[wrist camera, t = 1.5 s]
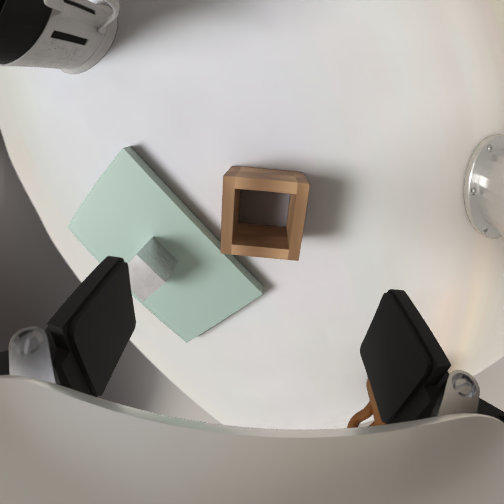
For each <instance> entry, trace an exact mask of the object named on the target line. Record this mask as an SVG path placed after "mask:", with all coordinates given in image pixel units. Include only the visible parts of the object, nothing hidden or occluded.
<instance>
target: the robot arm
mask: <svg viewBox="0 0 504 504" xmlns="http://www.w3.org/2000/svg"><path fill="white" fill-rule="evenodd" d="M464 200H465V208H466V211H467V215H468V218H469V220H470V222H471V224H472V225H473V227H474V228H475V229H476V230H477V231H478V232H479V233H481V234H482V235H484V236H485V237H488V238H499V237H502V236H503V237H504V136H503V135H492V136H489V137H487V138H486V139H484V140H483V141H482V142H481V143H480V144H479V145H478V146H477V148H476V149H475V151H474V153H473V155H472V156H471V159H470V162H469V164H468V168H467V172H466V176H465V184H464ZM47 325H48V328H47V329H46V330H45V331H44V330H43V329H42V328H40V327H36V326H30V327H26V328H22V329H20V330H19V331H18V332H16V333H15V334H14V335H13V336H12V338H11V340H10V343H9V350H7V351H4V352H0V504H504V412H503V411H501V410H500V409H498V408H496V407H494V406H493V405H491V404H489V403H487V402H486V401H484V400H482V399H480V398H479V395H480V389H479V386H478V383H477V381H476V380H475V378H474V377H473V376H472V375H470V374H469V373H467V372H465V371H462V370H455V371H453V372H451V373H450V374H449V373H448V371H447V370H448V369H449V368H450V366H451V364H450V362H449V360H448V358H447V357H446V355H445V353H444V352H443V350H442V348H441V346H440V345H439V343H438V342H437V340H436V338H435V337H434V335H433V333H432V332H431V330H430V329H429V327H428V325H427V324H426V322H425V321H424V319H423V318H422V316H421V315H420V313H419V312H418V310H417V309H416V307H415V306H414V304H413V303H412V301H411V300H410V298H409V297H408V295H407V294H406V292H405V291H403V290H393V289H390V290H389V291H388V292H387V293H384V294H383V296H382V299H381V301H380V304H379V306H378V309H377V311H376V313H375V316H374V318H373V320H372V323H371V325H370V327H369V329H368V331H367V334H366V336H365V338H364V340H363V342H362V344H361V348H360V354H361V357H362V360H363V363H364V366H365V369H366V372H367V375H368V378H369V381H370V385H371V388H372V391H373V394H374V397H375V401H376V404H377V407H378V411H379V414H380V418H381V421H382V422H383V423H385V425H378V426H369V427H358V428H344V429H320V430H286V429H263V428H249V427H238V426H228V425H220V424H212V423H205V422H198V421H192V420H186V419H181V418H176V417H170V416H165V415H161V414H156V413H152V412H147V411H143V410H139V409H136V408H132V407H128V406H124V405H121V404H117V403H114V402H110V401H107V400H103V399H100V398H97V396H101V395H102V394H103V392H104V390H105V388H106V386H107V383H108V381H109V379H110V377H111V375H112V373H113V371H114V369H115V367H116V365H117V363H118V361H119V358H120V357H121V355H122V352H123V351H124V349H125V347H126V345H127V342H128V341H129V339H130V337H131V335H132V333H133V331H134V329H135V325H136V319H135V313H134V306H133V299H132V292H131V284H130V276H129V267H128V263H127V262H124V259H123V258H121V257H114V256H107V257H106V258H105V259H104V260H103V261H102V262H101V263H100V264H99V265H98V266H97V267H96V268H95V269H94V270H93V271H92V273H91V274H90V275H89V276H88V277H87V278H86V279H85V280H84V281H83V282H82V283H81V284H80V286H79V287H78V288H77V289H76V290H75V291H74V292H73V293H72V295H71V296H70V297H69V298H68V299H67V300H66V302H65V303H64V304H63V305H62V306H61V307H60V308H59V310H58V311H57V312H56V313H55V315H54V316H53V317H52V318H51V319H50V321H49V322H48V323H47Z"/></svg>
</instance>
